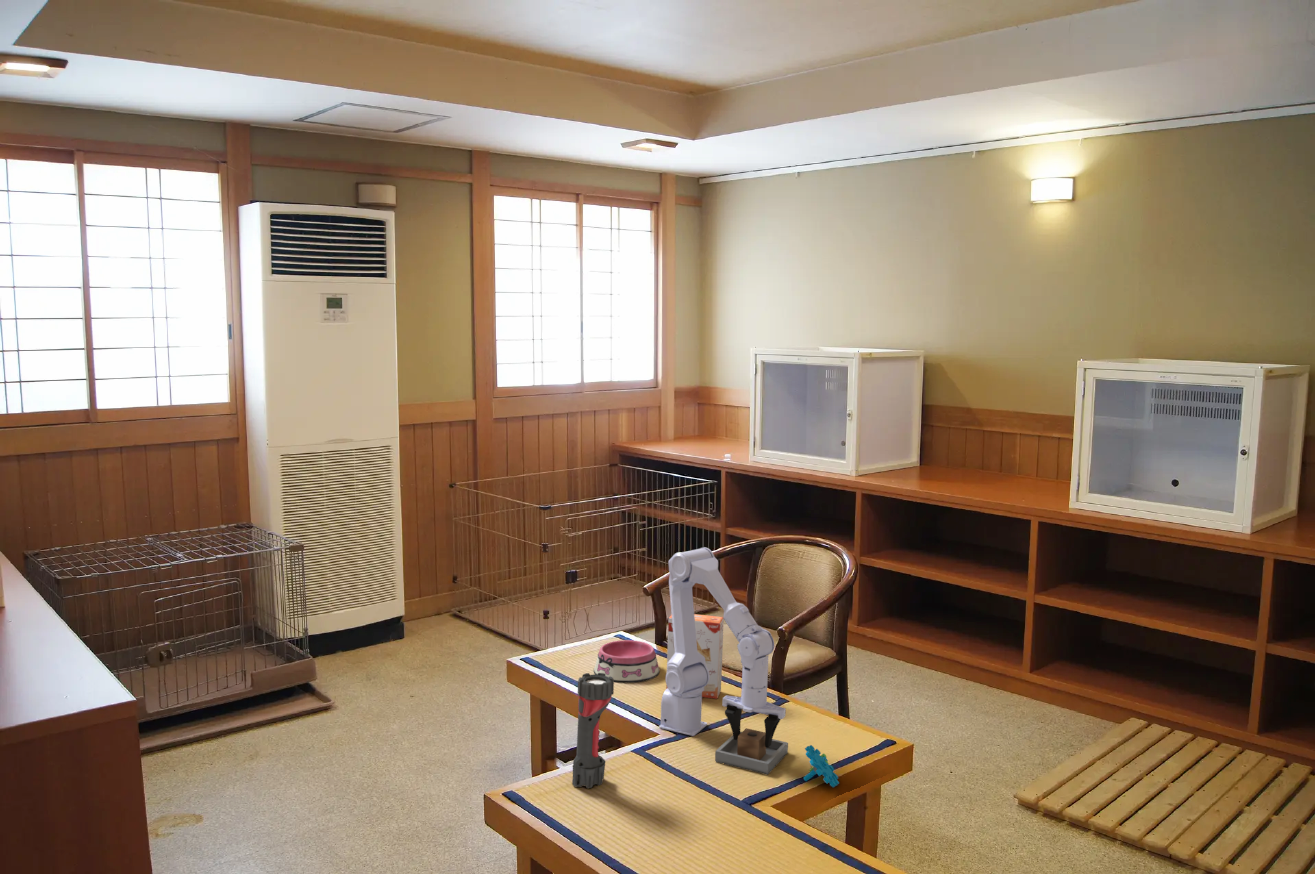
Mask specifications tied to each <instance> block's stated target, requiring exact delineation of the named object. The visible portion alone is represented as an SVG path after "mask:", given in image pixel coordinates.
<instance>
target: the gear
mask: <svg viewBox="0 0 1315 874" xmlns="http://www.w3.org/2000/svg"><path fill="white" fill-rule="evenodd" d="M804 750H805V751H806V752H805V756H806V757H807V758H808V759H809V761H808V762H809V765H810V766H811V767H810V769H809V773H807V774H806V775H805V776H803V777H802V778H803V780H804V781H805V782H808V781H809V780H810V779H812V778H813V777H814V776H815V775H816V774H817V775H818V777H820V776H821V775H822V776H823V781H824V783H826V784H828V783H829V786H830V787H832V788H835V787H836V786H839V784H840V782H839V781H838V779H839V776H838V775H837V774H836V773H835V772H834V771H835V768H834V766H833V765H830V764H829V762H828V761H829V760H828V759H827V755H826V754H825V753H821V751H820V750H819V749H818V748H816V749H815V747H814V745H812V744H809V745H808V746H806V747H805V748H804Z"/></svg>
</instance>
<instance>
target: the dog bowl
mask: <svg viewBox="0 0 1315 874" xmlns="http://www.w3.org/2000/svg"><path fill="white" fill-rule="evenodd" d="M600 646H601V645H600ZM598 673H604V674H605V676H607V677H610V676H611V677H613V679H614V683H621V684H632V683H633V684H634V683H635V684H636V683H644V682H647V681H650V680H653V679H654V678H656V677H658V676H659V673H660V667H659V663H658V659H657V654H656V650H655V648H654V647H653V646H652V645H651V644H650V643H647V642H644V641H640V640H634V639H633V640H631V639H625V640H624V639H621V640H615V641H610V642H606V643H604V644H603V645H602V646H601V647H600V648H599V651H598V653H597V658H596V662H595V665H594V668H593V674H594V675H597V674H598Z"/></svg>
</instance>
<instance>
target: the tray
mask: <svg viewBox="0 0 1315 874" xmlns="http://www.w3.org/2000/svg"><path fill="white" fill-rule="evenodd" d="M742 732H743V731H740V734H741V733H742ZM737 747H738V739H737V740H734V738H733V734H732V735H731V736H730V737H728V739H726V741H725V742H724V743H722V744H721V745H720V746H719V747H718V748H717V749H716V750H715V754H714V757H715V758H714V762H715V761H716V763H718V762H719V764H722V763H724V764H723V765H727V766H731V767H734V768H739V769H742V770H746V771H749V772H750V771H751V772H755V773H757V774H763V775H766V776H768V775H769V774H770V773H771V772H772V771H773V770H774V768H776V767H777V765H778V764H779V763H780V762H781V761H782V760H783V759H784V758H785V757H786V755H787V754H788V752H789V742H786V741H784V740H783V741H782V740H779V739H774V738H772V743H771V745H770V746H769V747H768V748H767V747H766V754H765V755H764V756H763V757H762V758H761V760H757V759H753V758H749V757H744V756H740V755H737Z"/></svg>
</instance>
